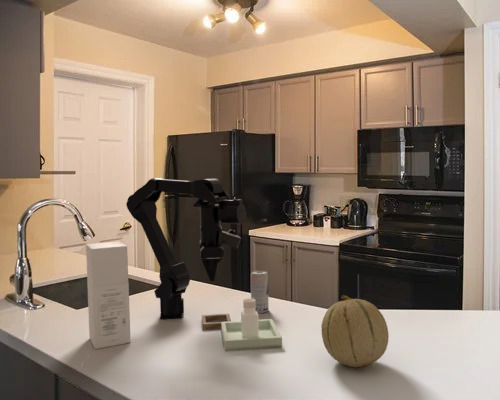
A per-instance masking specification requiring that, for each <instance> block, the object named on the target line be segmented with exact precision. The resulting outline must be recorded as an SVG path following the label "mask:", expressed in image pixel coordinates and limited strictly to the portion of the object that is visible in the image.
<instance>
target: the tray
mask: <svg viewBox="0 0 500 400" xmlns="http://www.w3.org/2000/svg"><path fill="white" fill-rule="evenodd" d="M258 320H259V336H258V337H256V338H244V337H243V335H242V330H241V320H233V321H232V320H231V321H230V322H227V321H220V322H221V330H220V331H221V337H222V343H223V348H224V351H225V352H233V351H234V352H235V351H247V350H262V349H278V348H279V349H280V348H283V336H282V335H281V333H280V331H279V330H278V327H277V325H276V324H275V322H274V320H273V319H272V318H269V319H267V318H266V319H264V318H263V319H258Z"/></svg>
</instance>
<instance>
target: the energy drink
mask: <svg viewBox="0 0 500 400" xmlns="http://www.w3.org/2000/svg"><path fill="white" fill-rule="evenodd" d="M250 299H255V300H256V311H257V313H258V314H263V313H267V312H268V311H269V274H268V271H266V270H253V271H251V273H250Z"/></svg>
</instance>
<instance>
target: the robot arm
mask: <svg viewBox="0 0 500 400" xmlns="http://www.w3.org/2000/svg"><path fill="white" fill-rule="evenodd" d="M162 193H172V194H173V193H174V194H185V195H189V196H192V197H193V198H195V199H196V198H197V200H196V202H194V203H193V205H192V207H193V208H199V223H200V225H199V227H200V230H199V231H200V240H199V251H200V252H199V253H200V254H199V255H200V260H201V263H202V264H203V267H204V269H205V272H206V274H207V276H208V278H209V281H210V282H214V281H215V279H216V274H217V269H218V264H219V263H220V262H221V261H222V260H223V259H224V258H225V250H224V247H222V246H223V244H224V245H226V246H230V247H232V248H233V249H238V248H239V246H240V243H241V239H242V238H241V236H240V235H238V234H236V230H234V229H229V230H228V231H224V230H223V228H222V226H221V224H224V225H225V224H227V225H228V224H230V225H243V224H244V223H245V222H246V220H247V216H248V215H247V213H248V212H247V210H246V206H245V205H244V203H243V201H244V200H243V199H231V198H230V197H229V195H228V194H227V193H226V191H225V189H224V187H223V184H222V182H221V181H220V179H218V178H202V179H195V180H181V179H180V180H179V179H170V178H169V179H167V178H163V177H162V178H161V177H156V178H155V177H154V178H153V177H152V178H150V179H149V180H148V181H147V182H146V183H145V184H144V185H142V186H141V187H140V188H138V189H137V190H136V191H134V192H133V194H131V195H129V197H128V198H127V199H126V203H125V204H126V205H125V206H126V208H127V210H128V212H129V213H130V215H131V217H132V218H134V219H135V220H136V221H137V222H138V223H139V224H140V225H141V227H142V229H143V232H144V234H145V236H146V238H147V241H148V243H149V246H150V247H151V249H152V252H153V254H154V256H155V258H156V261H157V263H158V265H159V281H160V284H159V285H158V286H157V287H156V289H155V290H154V295H155V298H156V299H159V305H160V306H159V307H160V308H159V309H160V315H159V319H161V320H162V319H163V320H164V319H180V318H183V315H184V314H185V305H184V304H185V303H184V302H185V299H184V298H183V296H182V294H184V293H186V291H187V289H188V286H189V285H190V282H191V277H190V275H191V273H190V272H189V271H188V269H187V265H186V263H185V262H184V261H183V262H178V261H177V259H176V258H175V256H174V254H173V251H172V250H171V247H170V245H169V243H168V240H167V239H166V236H165V234H164V232H163V230H162V227H161V226H160V224H159V221H158V219H157V211H158V208H157V205H156V204H157V202H158V201H159V200H160V198H161V195H162Z"/></svg>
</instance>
